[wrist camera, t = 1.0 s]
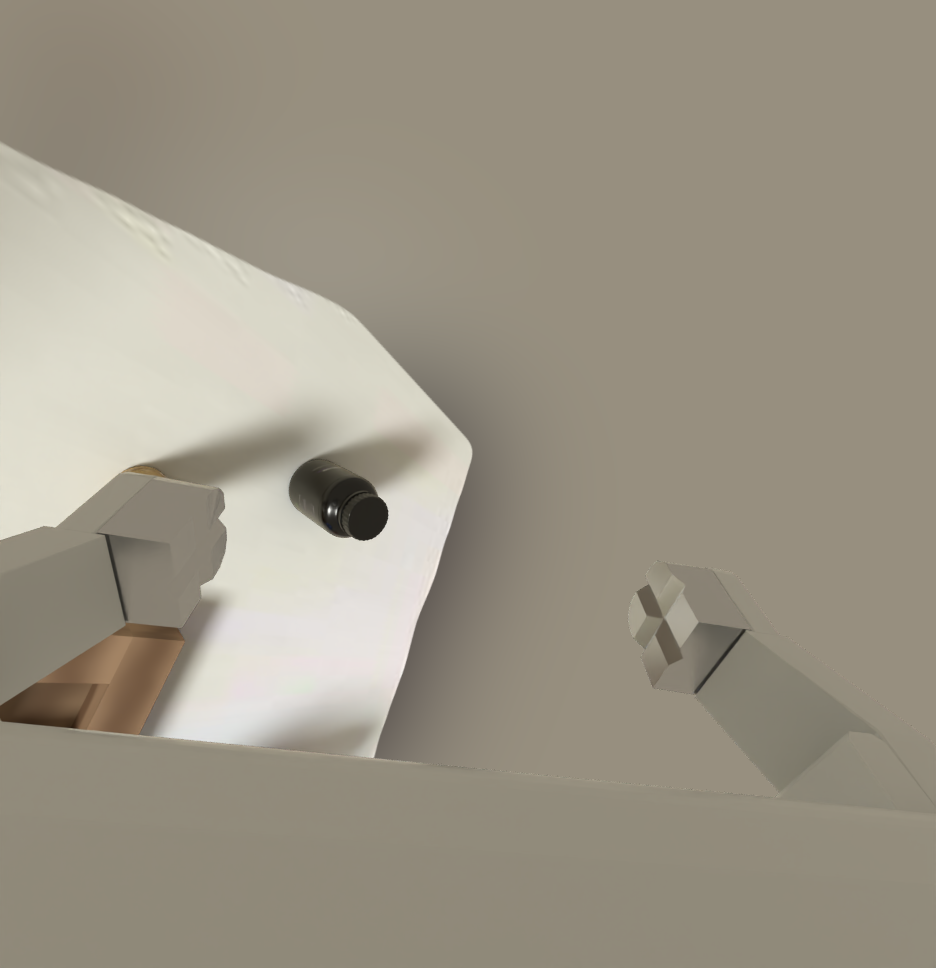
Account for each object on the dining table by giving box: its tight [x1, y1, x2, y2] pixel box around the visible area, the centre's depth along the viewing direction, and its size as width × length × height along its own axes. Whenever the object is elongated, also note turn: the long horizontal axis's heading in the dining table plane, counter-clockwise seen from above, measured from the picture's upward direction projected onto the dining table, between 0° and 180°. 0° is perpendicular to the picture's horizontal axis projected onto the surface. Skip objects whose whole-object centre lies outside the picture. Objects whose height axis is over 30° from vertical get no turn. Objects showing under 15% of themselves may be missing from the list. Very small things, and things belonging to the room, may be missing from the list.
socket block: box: [0, 623, 185, 735], centre depth 41 cm, size 16×16×4 cm
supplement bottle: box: [289, 459, 388, 541], centre depth 52 cm, size 7×7×12 cm
